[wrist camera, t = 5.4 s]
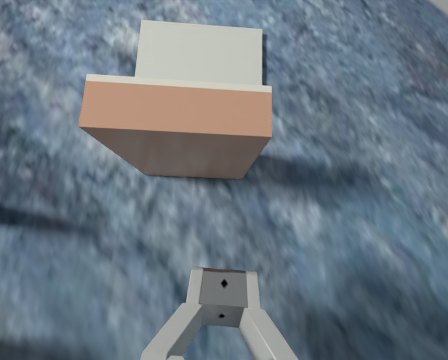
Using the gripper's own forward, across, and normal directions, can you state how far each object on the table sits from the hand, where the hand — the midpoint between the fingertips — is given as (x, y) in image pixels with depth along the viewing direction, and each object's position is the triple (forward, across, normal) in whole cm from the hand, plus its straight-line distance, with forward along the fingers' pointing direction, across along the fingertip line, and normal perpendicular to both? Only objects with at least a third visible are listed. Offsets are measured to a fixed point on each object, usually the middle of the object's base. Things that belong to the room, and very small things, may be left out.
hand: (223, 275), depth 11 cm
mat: (+21, +4, -4) cm, 22 cm away
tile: (+14, +3, +3) cm, 15 cm away
